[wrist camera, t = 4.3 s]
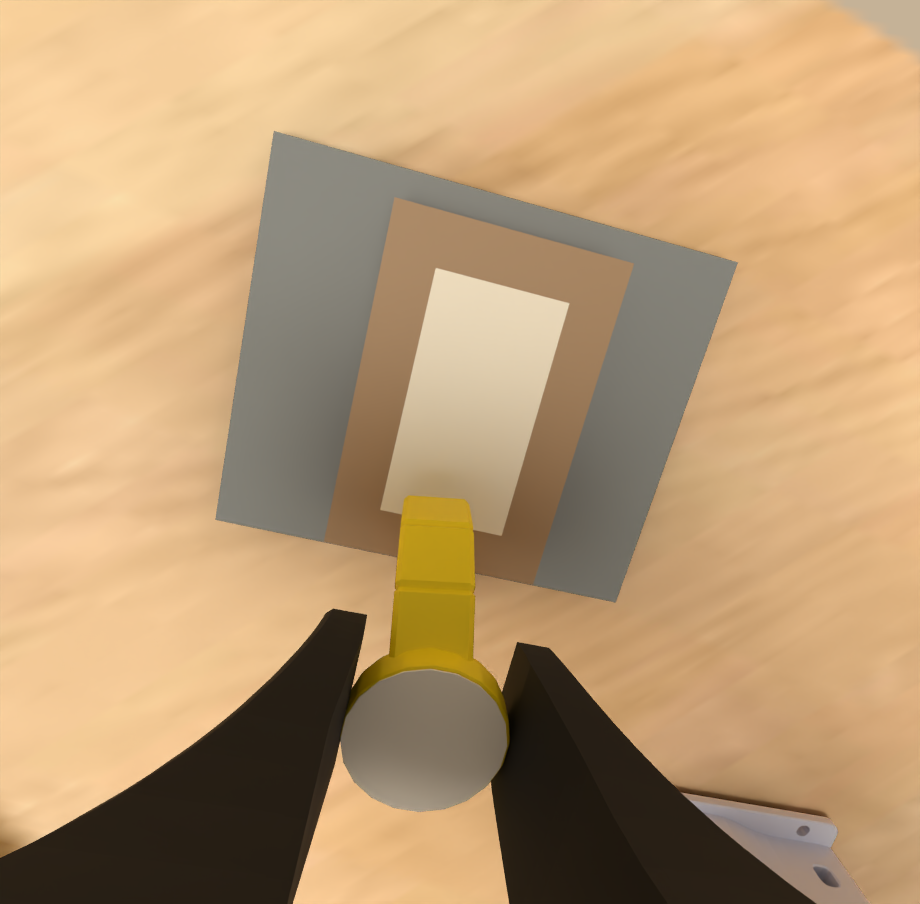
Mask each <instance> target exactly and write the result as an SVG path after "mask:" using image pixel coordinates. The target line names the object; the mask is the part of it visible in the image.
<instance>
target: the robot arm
mask: <svg viewBox="0 0 920 904" xmlns="http://www.w3.org/2000/svg"><path fill="white" fill-rule="evenodd" d="M366 618H367V615H365V614H359V613H354V612H348V611H343V610H337V609H332V610H330V611H329V612H327V613H326V614H325V615H324V617H323V619H322V620H321V622H320V623H319V625H318V626H317V627H316V629H315V630H314V631H313V633H312V634H311V635H310V636H309V638H308V639H307V640H306V641H305V642H304V643H303V645H302V646H301V647H300V648H299V649H298V650H297V651H296V653H295V654H294V655H293V656H292V657H291V658H290V659H289V660H288V661H287V662H286V663H285V664H284V665H283V666H282V667H281V668H280V670H279V671H278V672H277V673H276V674H275V675H274V676H273V677H272V678H271V679H270V680H268V681H267V682H266V683H265V684H264V685H263V686H262V687H261V688H260V689H259V690H258V691H257V692H255V693H254V694H253V695H252V696H251V697H250V698H249V699H248V700H247V701H246V702H245V703H244V704H242V705H241V706H240V707H239V708H238V709H237V710H236V711H234V712H233V713H232V714H231V715H230V716H228V717H227V718H226V719H225V720H224V721H222V722H221V723H220V724H219V725H217V726H216V727H215V728H214V729H212V730H211V731H210V732H208V733H207V734H206V735H205V736H203V737H202V738H201V739H199V740H198V741H197V742H195V743H194V744H193V745H191V746H190V747H189V748H187V749H186V750H184V751H183V752H181V753H180V754H179V755H177V756H176V757H174V758H173V759H171V760H170V761H168V762H167V763H166V764H164V765H163V766H161V767H160V768H158V769H157V770H155V771H154V772H153V773H151V774H150V775H148V776H146V777H145V778H143V779H142V780H140V781H139V782H137V783H136V784H134V785H132V786H131V787H129V788H128V789H126V790H124V791H123V792H121V793H119V794H118V795H116V796H114V797H113V798H111V799H109V800H107V801H106V802H104V803H102V804H100V805H99V806H97V807H95V808H93V809H92V810H90V811H88V812H86V813H85V814H83V815H81V816H79V817H78V818H76V819H74V820H73V821H71V822H69V823H67V824H66V825H64V826H62V827H60V828H59V829H57V830H55V831H53V832H51V833H49V834H48V835H46V836H44V837H42V838H40V839H38V840H36V841H35V842H33V843H31V844H29V845H27V846H25V847H22V848H20V849H18V850H16V851H14V852H12V853H10V854H8V855H6V856H4V857H1V858H0V904H293V901H294V897H295V894H296V891H297V888H298V884H299V881H300V878H301V874H302V871H303V868H304V864H305V861H306V858H307V855H308V851H309V848H310V845H311V841H312V838H313V835H314V831H315V828H316V825H317V822H318V818H319V815H320V812H321V808H322V805H323V802H324V798H325V795H326V792H327V789H328V785H329V782H330V779H331V775H332V772H333V769H334V765H335V761H336V756H337V752H338V747H339V743H340V735H341V730H342V726H343V722H344V717H345V713H346V710H347V706H348V703H349V698H350V694H351V689H352V685H353V680H354V676H355V671H356V667H357V662H358V658H359V653H360V649H361V644H362V640H363V635H364V629H365V624H366ZM502 694H503V697H504V700H505V705H506V710H507V715H508V720H509V734H510V743H509V747H508V750H507V753H506V756H505V759H504V763H503V765H502V767H501V768H500V769H499V771H498V772H497V774H496V775H495V776H494V778H493V779H492V780H491V785H492V795H493V802H494V808H495V815H496V822H497V828H498V835H499V841H500V848H501V854H502V860H503V866H504V873H505V879H506V885H507V892H508V898H509V904H870V902H869V901H868V900H867V898H866V897H865V895H864V894H863V893H862V891H861V890H860V888H859V887H858V886H857V884H856V883H855V881H854V880H853V879H852V877H851V876H850V874H849V873H848V872H847V870H846V869H845V867H844V866H843V865H842V863H841V862H840V860H839V859H838V858H837V856H836V855H835V853H834V852H833V851H832V849H831V846H832V844H833V842H834V840H835V838H836V836H837V833H838V830H837V827H836V826H835V825H834V823H833V822H832V821H831V820H830V819H829V818H827V817H823V816H817V815H811V814H805V813H799V812H793V811H787V810H781V809H775V808H770V807H764V806H758V805H752V804H746V803H740V802H734V801H728V800H722V799H717V798H711V797H705V796H699V795H693V794H687V793H681V792H680V791H679V790H678V789H677V788H676V787H675V786H673V785H672V784H671V783H670V782H669V781H668V780H667V779H666V778H665V777H664V776H663V775H662V774H661V773H660V772H659V771H658V770H657V769H656V768H655V767H654V765H653V764H652V763H651V762H650V761H649V760H648V759H647V758H646V757H645V756H644V755H643V754H642V753H641V752H640V751H639V750H638V749H637V748H636V747H635V746H634V745H633V744H632V743H631V741H630V740H629V739H628V738H627V737H626V736H625V735H624V734H623V733H622V732H621V731H620V729H619V728H618V727H617V726H616V725H615V724H614V723H613V722H612V720H611V719H610V718H609V717H608V716H607V715H606V714H605V712H604V711H603V710H602V709H601V708H600V707H599V705H598V704H597V703H596V702H595V701H594V700H593V698H592V697H591V696H590V695H589V694H588V693H587V691H586V690H585V689H584V688H583V687H582V685H581V684H580V683H579V682H578V681H577V679H576V678H575V677H574V676H573V675H572V673H571V672H570V671H569V670H568V669H567V668H566V666H565V665H564V664H563V663H562V662H561V661H560V659H559V658H558V657H557V656H556V655H555V654H554V653H553V652H552V651H551V650H550V649H549V648H546V647H541V646H535V645H530V644H524V643H519V642H517V645H516V648H515V651H514V655H513V658H512V661H511V665H510V668H509V671H508V674H507V678H506V681H505V684H504V687H503V691H502Z"/></svg>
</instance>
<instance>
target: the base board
mask: <svg viewBox="0 0 920 904" xmlns="http://www.w3.org/2000/svg"><path fill="white" fill-rule="evenodd" d="M737 263H738V262H734V261H731V260H727V259H724V258H720V257H717V256H713V255H710V254H706V253H703V252H699V251H695V250H692V249H688V248H685V247H681V246H678V245H674V244H671V243H667V242H664V241H660V240H657V239H653V238H650V237H646V236H643V235H639V234H635V233H632V232H628V231H625V230H621V229H618V228H614V227H611V226H607V225H604V224H600V223H597V222H593V221H590V220H586V219H583V218H579V217H575V216H572V215H568V214H565V213H561V212H558V211H554V210H551V209H547V208H544V207H540V206H537V205H533V204H530V203H526V202H523V201H519V200H515V199H512V198H508V197H505V196H501V195H498V194H494V193H491V192H487V191H484V190H480V189H477V188H473V187H470V186H466V185H463V184H459V183H455V182H452V181H448V180H445V179H441V178H438V177H434V176H431V175H427V174H424V173H420V172H417V171H413V170H410V169H406V168H403V167H399V166H396V165H392V164H388V163H385V162H381V161H378V160H374V159H371V158H367V157H364V156H360V155H357V154H353V153H350V152H346V151H343V150H339V149H336V148H332V147H328V146H325V145H321V144H318V143H314V142H311V141H307V140H304V139H300V138H297V137H293V136H290V135H286V134H283V133H279V132H276V131H274V134H273V141H272V147H271V154H270V161H269V167H268V174H267V180H266V187H265V194H264V200H263V207H262V214H261V220H260V227H259V234H258V240H257V247H256V253H255V260H254V267H253V273H252V280H251V287H250V293H249V300H248V307H247V313H246V320H245V326H244V333H243V340H242V346H241V353H240V360H239V366H238V373H237V380H236V386H235V393H234V399H233V406H232V413H231V419H230V426H229V433H228V439H227V446H226V453H225V459H224V466H223V472H222V479H221V486H220V492H219V499H218V506H217V512H216V519H215V520H219V521H224V522H229V523H234V524H238V525H243V526H248V527H253V528H258V529H263V530H267V531H272V532H277V533H282V534H287V535H292V536H297V537H301V538H306V539H311V540H316V541H321V542H326V543H330V544H335V545H340V546H345V547H350V548H355V549H359V550H364V551H369V552H374V553H379V554H384V555H389V556H393V557H398V548H399V537H400V528H401V518H402V510H403V502H404V499H405V498H406V497H407V496H408V495H412V496H426V497H441V498H456V499H465V500H466V501H467V502H468V504H469V506H470V511H471V517H472V523H473V532H474V561H475V573H476V574H481V575H485V576H490V577H495V578H500V579H505V580H510V581H514V582H519V583H524V584H529V585H534V586H539V587H543V588H548V589H553V590H558V591H563V592H568V593H573V594H577V595H582V596H587V597H592V598H597V599H602V600H606V601H611V602H616V600H617V597H618V594H619V591H620V589H621V586H622V583H623V580H624V578H625V575H626V572H627V569H628V566H629V564H630V561H631V558H632V555H633V553H634V550H635V547H636V544H637V541H638V539H639V536H640V533H641V530H642V528H643V525H644V522H645V519H646V516H647V514H648V511H649V508H650V505H651V502H652V500H653V497H654V494H655V491H656V489H657V486H658V483H659V480H660V477H661V475H662V472H663V469H664V466H665V464H666V461H667V458H668V455H669V452H670V450H671V447H672V444H673V441H674V439H675V436H676V433H677V430H678V427H679V425H680V422H681V419H682V416H683V414H684V411H685V408H686V405H687V402H688V400H689V397H690V394H691V391H692V389H693V386H694V383H695V380H696V377H697V375H698V372H699V369H700V366H701V364H702V361H703V358H704V355H705V352H706V350H707V347H708V344H709V341H710V339H711V336H712V333H713V330H714V327H715V325H716V322H717V319H718V316H719V314H720V311H721V308H722V305H723V302H724V300H725V297H726V294H727V291H728V289H729V286H730V283H731V280H732V277H733V275H734V272H735V269H736V266H737Z"/></svg>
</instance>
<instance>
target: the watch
mask: <svg viewBox="0 0 920 904" xmlns="http://www.w3.org/2000/svg"><path fill="white" fill-rule="evenodd" d="M395 589H396V591H395V592H394V603H393V615H392V627H391V639H390V651H389V654H388V655H386V656H383V657H382V658H380V659H379V660H378V661H376V662H375V663H374V664H372V665H371V666H370V667H369V668H367V669H366V670H365V671H364V672H363V673H362V674H361V676H360V677H359V679H358V680H357V682H356V683H355V685H354V686H353V688H352V689H351V694H350V698H349V703H348V706H347V710H346V713H345V717H344V722H343V726H342V730H341V735H340V742H341V749H342V756H343V762H344V764H345V766H346V768H347V770H348V772H349V773H350V775H351V777H352V779H353V781H354V782H355V783H356V784H357V785H358V786H359V787H360V788H361V789H363V790H364V791H365V792H366V793H367V794H368V795H369V796H370V797H371V798H373V799H376V800H378V801H380V802H382V803H384V804H386V805H389V806H391V807H393V808H397V809H404V810H410V811H416V812H423V811H433V810H442V809H446V808H449V807H451V806H454V805H457V804H459V803H462V802H465V801H467V800H469V799H470V798H471V797H473V796H474V795H475V794H477V793H478V792H479V791H481V790H482V789H484V788H485V787H486V786H487V785H488V784H489V783H490V782H491V780H492V779H493V778H494V776H495V775H496V774H497V772H498V771H499V769H500V768H501V767H502V765H503V763H504V759H505V756H506V753H507V750H508V747H509V743H510V734H509V720H508V715H507V710H506V705H505V700H504V697H503V694H502V692H501V690H500V688H499V686H498V683H497V681H496V679H495V678H494V677H493V676H492V674H491V673H490V672H489V671H488V670H487V669H486V668H485V667H484V666H483V665H482V664H481V663H480V662H479V661H477V660H475V659H473V643H474V614H475V595H474V594H473V593H474V590H475V561H474V532H473V523H472V517H471V511H470V506H469V504H468V502H467V501H466V500H465V499H456V498H441V497H426V496H412V495H408V496H407V497H406V498H405V499H404V502H403V510H402V518H401V528H400V537H399V548H398V558H397V569H396V579H395Z"/></svg>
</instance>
